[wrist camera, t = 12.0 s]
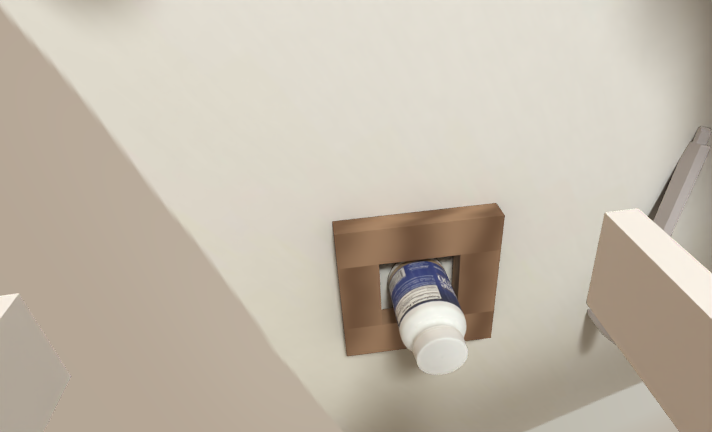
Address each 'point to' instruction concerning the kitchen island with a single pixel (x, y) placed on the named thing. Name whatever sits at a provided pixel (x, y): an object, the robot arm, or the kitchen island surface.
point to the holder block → (415, 242)
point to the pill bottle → (428, 315)
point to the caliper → (676, 192)
